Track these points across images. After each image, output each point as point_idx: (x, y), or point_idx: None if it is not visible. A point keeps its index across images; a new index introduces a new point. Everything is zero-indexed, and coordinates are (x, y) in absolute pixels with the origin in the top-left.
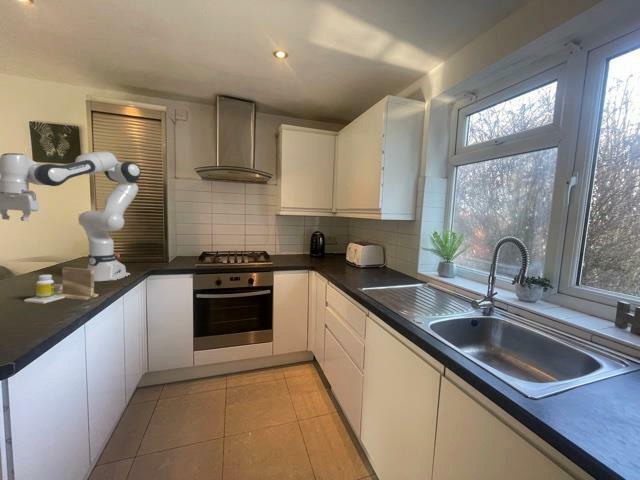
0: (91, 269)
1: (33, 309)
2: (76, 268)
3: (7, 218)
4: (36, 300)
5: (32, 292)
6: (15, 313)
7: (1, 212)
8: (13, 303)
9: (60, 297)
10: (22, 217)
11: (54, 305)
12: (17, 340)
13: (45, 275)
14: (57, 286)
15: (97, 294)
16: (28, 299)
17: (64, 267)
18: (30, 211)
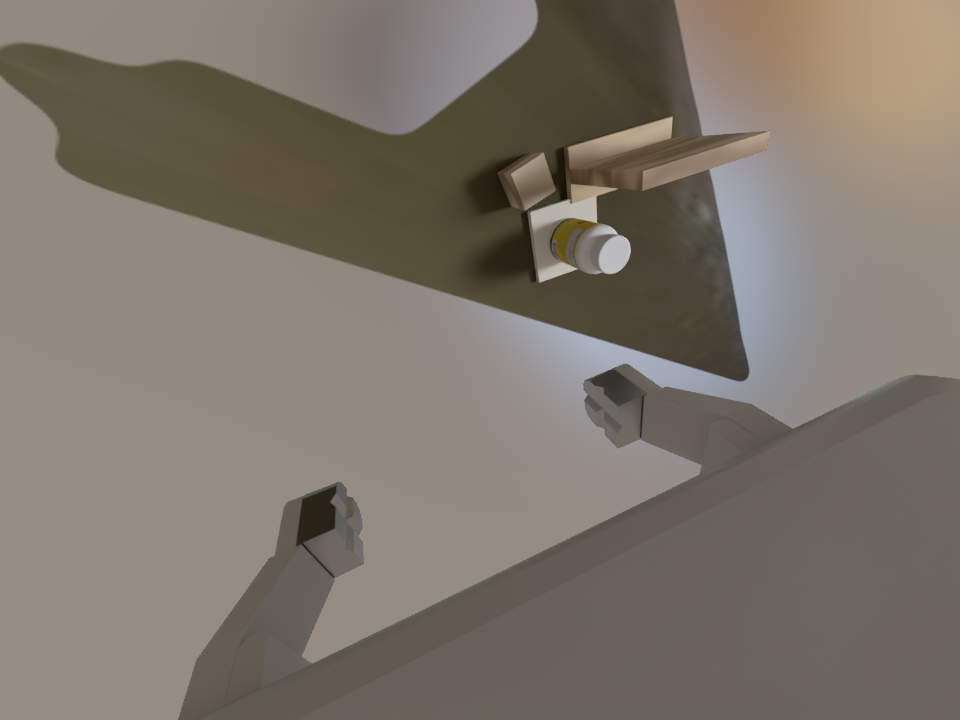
0: (760, 134)
1: (615, 295)
2: (698, 161)
3: (344, 504)
4: (572, 267)
5: (443, 217)
6: (608, 326)
7: (303, 648)
8: (531, 303)
9: (595, 210)
10: (638, 433)
11: None
12: (714, 361)
13: (612, 254)
14: (552, 183)
15: (671, 120)
16: (546, 275)
17: (644, 180)
18: (787, 428)
